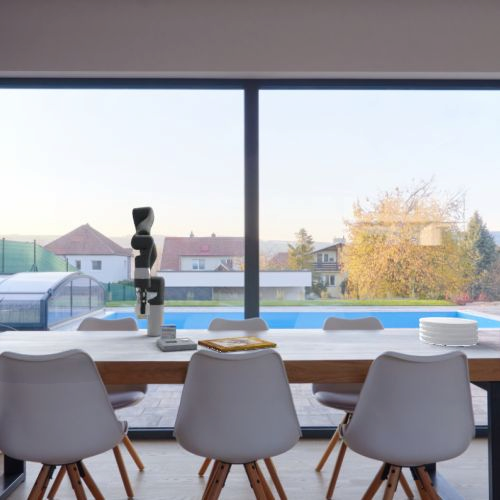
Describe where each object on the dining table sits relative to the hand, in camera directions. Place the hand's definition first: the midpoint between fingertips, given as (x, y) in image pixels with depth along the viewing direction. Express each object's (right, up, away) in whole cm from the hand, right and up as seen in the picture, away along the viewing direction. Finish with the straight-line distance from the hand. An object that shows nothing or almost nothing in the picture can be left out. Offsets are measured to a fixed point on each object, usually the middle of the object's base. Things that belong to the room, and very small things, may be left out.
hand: (142, 313), depth 220 cm
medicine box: (+8, -18, +24) cm, 31 cm away
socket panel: (+15, -17, +8) cm, 24 cm away
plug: (0, -3, 0) cm, 3 cm away
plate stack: (+154, -18, +22) cm, 156 cm away
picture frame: (+44, -18, +12) cm, 49 cm away
